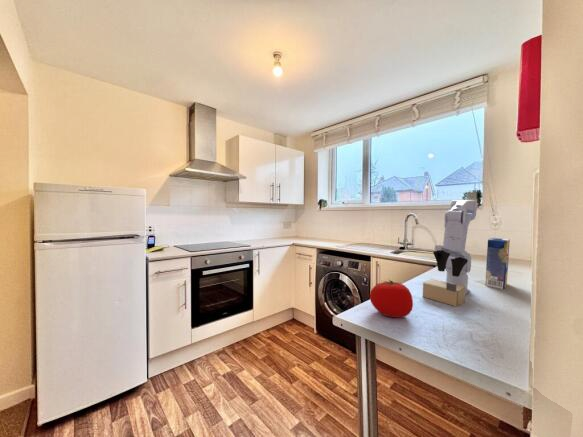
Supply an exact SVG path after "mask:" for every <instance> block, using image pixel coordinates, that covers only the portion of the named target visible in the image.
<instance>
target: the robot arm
mask: <svg viewBox="0 0 583 437" xmlns="http://www.w3.org/2000/svg"><path fill="white" fill-rule="evenodd" d="M477 210H478V200H477V199H451V202H450V210H447V211H445V213H444V226H443V227H444V236H443V243H442V245H440V244H435V245H434V250H435V251H434V250H433V255H434V258H435V261H436V264H437V265H436V267H437V271H438V272H443V273H444V272H445V271H446V281H445V282H449V283H453V284H457V285H461V286H465V295H466V294H467V293H469V292H470V291H471V290H470V289H469V288H468V284H469V283H468V282H469V276H468V273H470V272H471V269H472V256H471V254H470V253H469V252H467V251H466V244H467V237H468V229H469V225H470V224H471V223H470V222H471V221H473V220H475V218H476V216H477Z"/></svg>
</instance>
